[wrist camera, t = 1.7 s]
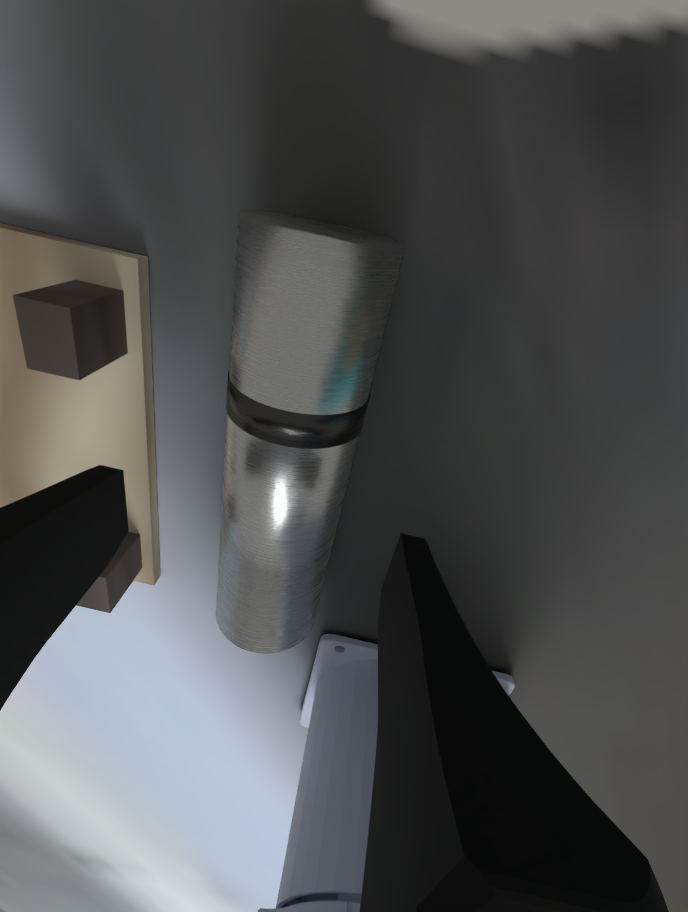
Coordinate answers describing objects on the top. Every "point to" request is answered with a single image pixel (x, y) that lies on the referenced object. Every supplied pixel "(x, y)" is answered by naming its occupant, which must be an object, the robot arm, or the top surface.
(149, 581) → the collar board
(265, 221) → the tube
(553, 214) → the top surface
